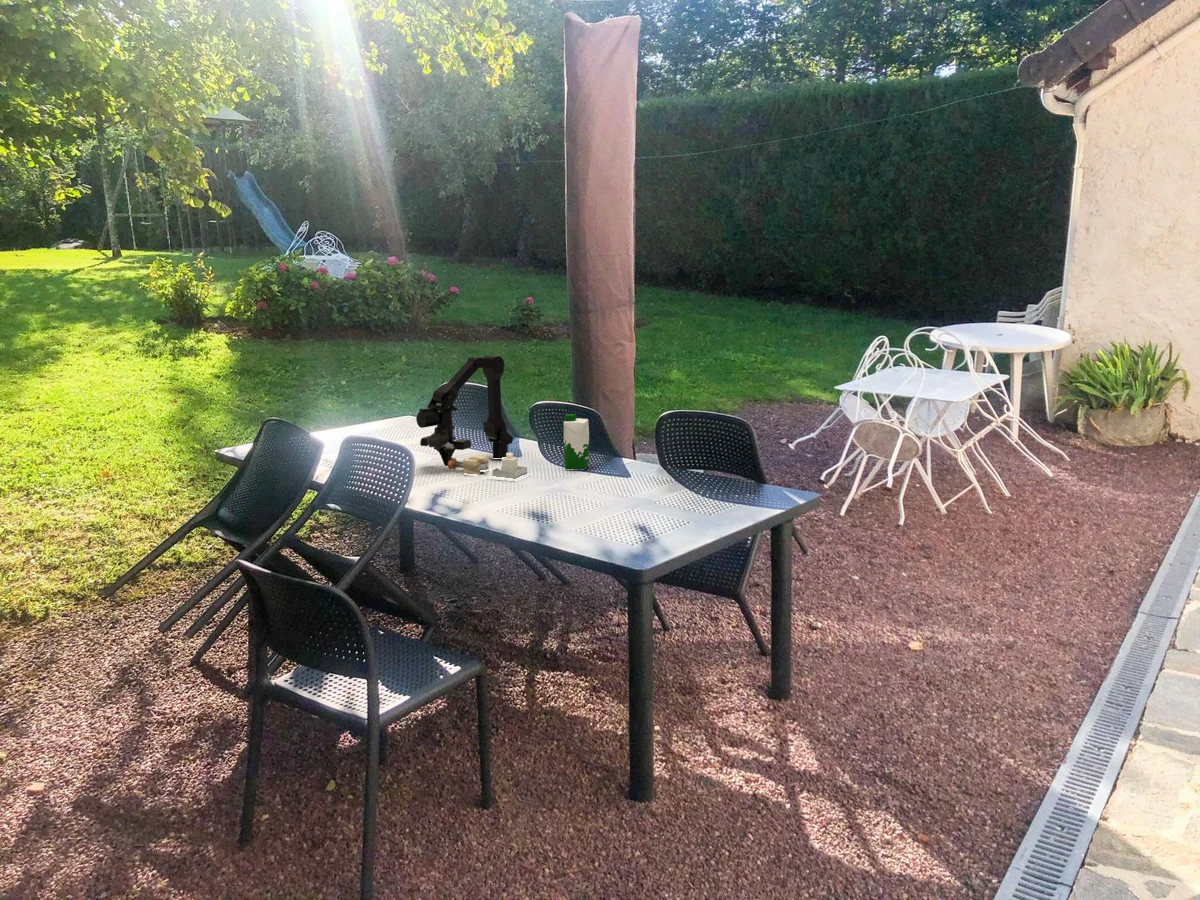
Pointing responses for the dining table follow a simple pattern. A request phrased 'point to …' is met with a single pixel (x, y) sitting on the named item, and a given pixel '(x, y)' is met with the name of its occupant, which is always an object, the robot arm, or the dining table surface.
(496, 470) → the socket
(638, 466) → the dining table surface
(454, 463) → the pin
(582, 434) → the milk carton
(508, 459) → the spigot
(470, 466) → the mount
